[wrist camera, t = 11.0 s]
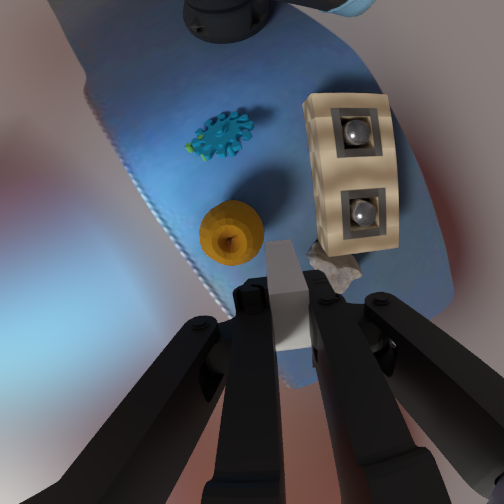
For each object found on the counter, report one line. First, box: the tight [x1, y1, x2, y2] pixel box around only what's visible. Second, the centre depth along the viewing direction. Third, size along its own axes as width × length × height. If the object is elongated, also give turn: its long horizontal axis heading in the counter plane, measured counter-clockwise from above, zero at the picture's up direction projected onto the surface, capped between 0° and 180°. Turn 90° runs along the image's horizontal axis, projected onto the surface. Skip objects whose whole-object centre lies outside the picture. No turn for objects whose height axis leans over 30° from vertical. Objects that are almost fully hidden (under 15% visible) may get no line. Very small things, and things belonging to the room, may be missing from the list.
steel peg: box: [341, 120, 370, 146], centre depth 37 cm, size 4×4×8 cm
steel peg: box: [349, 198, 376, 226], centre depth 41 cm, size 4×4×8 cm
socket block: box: [302, 93, 399, 257], centre depth 39 cm, size 24×12×8 cm, turn 8°
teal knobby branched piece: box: [185, 112, 254, 161], centre depth 40 cm, size 11×6×10 cm
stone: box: [307, 242, 363, 294], centre depth 46 cm, size 10×8×6 cm
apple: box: [199, 200, 264, 266], centre depth 41 cm, size 10×10×12 cm
